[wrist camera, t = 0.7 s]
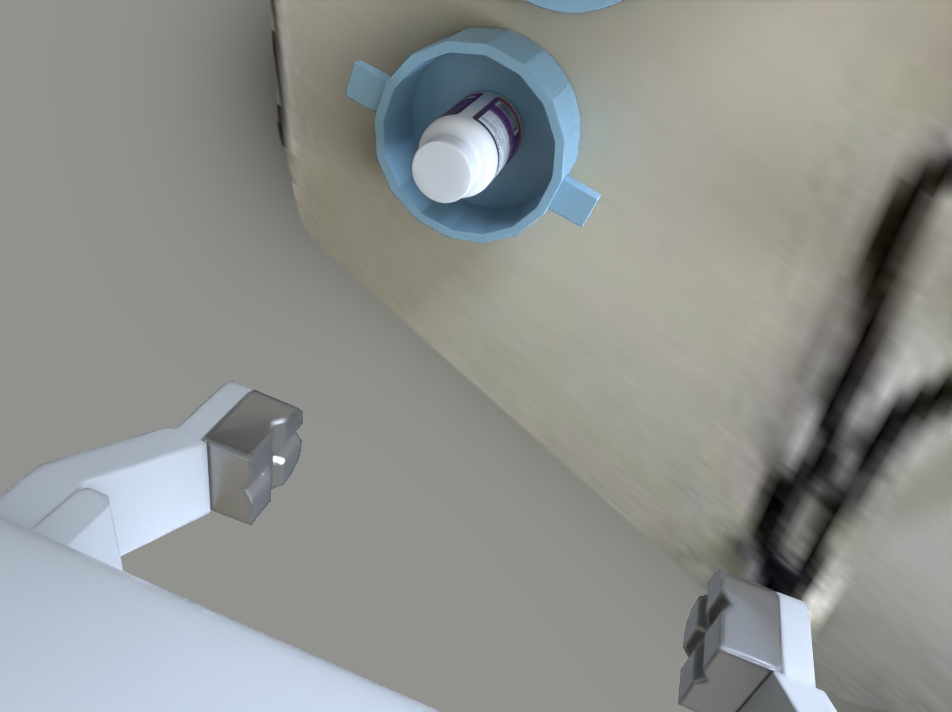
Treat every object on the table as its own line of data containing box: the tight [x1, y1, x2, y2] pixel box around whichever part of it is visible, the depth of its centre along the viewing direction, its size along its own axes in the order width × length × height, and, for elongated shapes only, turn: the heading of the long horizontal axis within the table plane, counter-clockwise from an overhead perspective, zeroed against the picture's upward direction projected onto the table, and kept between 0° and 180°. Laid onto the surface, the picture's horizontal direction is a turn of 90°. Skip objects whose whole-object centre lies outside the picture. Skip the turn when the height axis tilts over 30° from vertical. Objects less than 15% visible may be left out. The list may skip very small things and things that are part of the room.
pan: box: [345, 27, 601, 243], centre depth 49 cm, size 13×19×5 cm
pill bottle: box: [412, 91, 522, 203], centre depth 47 cm, size 5×5×10 cm
